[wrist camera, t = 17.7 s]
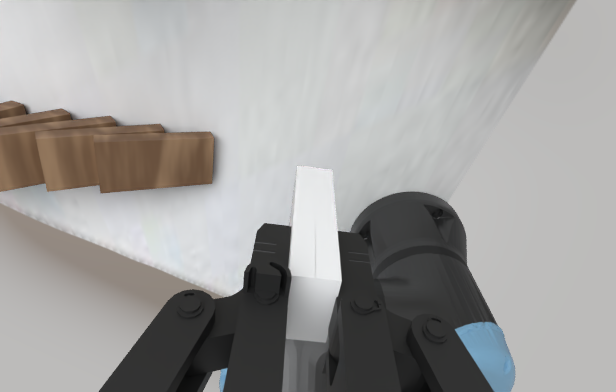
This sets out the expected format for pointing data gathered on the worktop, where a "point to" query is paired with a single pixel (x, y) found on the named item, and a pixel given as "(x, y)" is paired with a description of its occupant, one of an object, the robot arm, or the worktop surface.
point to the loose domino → (153, 160)
